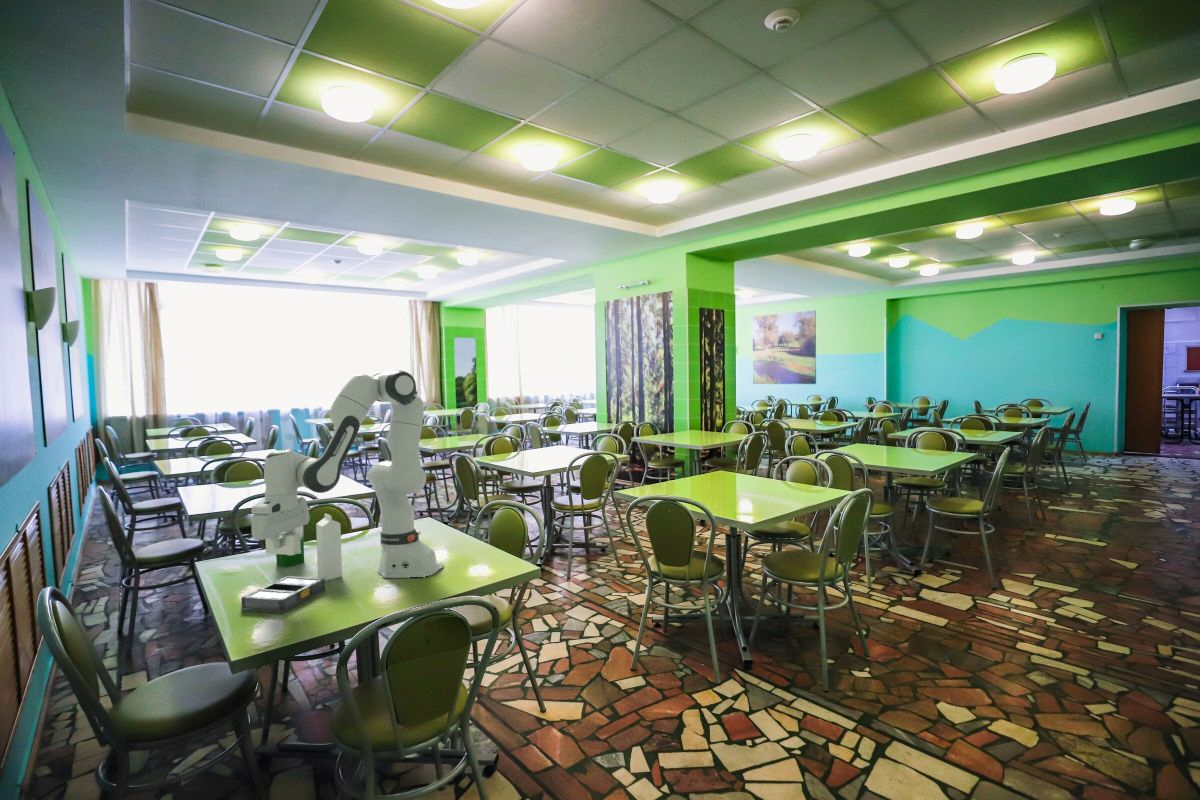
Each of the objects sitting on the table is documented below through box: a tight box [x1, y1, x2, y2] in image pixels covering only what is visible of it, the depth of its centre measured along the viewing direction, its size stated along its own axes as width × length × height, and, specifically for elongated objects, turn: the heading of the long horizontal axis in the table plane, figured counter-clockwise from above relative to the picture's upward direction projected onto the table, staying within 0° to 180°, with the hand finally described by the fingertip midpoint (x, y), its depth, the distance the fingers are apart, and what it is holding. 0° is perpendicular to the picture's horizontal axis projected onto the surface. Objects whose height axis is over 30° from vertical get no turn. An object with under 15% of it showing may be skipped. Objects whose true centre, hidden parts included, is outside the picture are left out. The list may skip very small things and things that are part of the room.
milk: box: [315, 513, 343, 582], centre depth 197 cm, size 6×6×22 cm
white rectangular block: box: [264, 532, 301, 555], centre depth 177 cm, size 10×3×6 cm, turn 78°
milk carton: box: [275, 525, 305, 568], centre depth 213 cm, size 9×9×20 cm
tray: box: [240, 575, 326, 615], centre depth 177 cm, size 15×19×4 cm
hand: (283, 545), depth 177 cm, fingers closed on white rectangular block, 3 cm apart
